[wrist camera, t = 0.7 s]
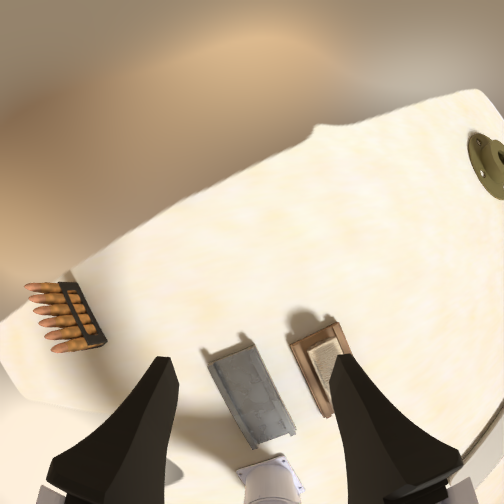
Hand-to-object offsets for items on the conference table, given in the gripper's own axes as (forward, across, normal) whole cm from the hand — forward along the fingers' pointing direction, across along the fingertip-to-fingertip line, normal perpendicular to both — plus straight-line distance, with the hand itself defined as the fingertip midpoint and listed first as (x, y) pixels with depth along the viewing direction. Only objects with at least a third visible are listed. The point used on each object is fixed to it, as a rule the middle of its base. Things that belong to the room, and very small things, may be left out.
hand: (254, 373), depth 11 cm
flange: (+34, -50, -8) cm, 61 cm away
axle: (+14, -10, +20) cm, 26 cm away
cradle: (+14, 0, +23) cm, 27 cm away
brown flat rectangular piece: (+15, -11, +20) cm, 27 cm away
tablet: (-2, -53, +42) cm, 67 cm away
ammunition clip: (+21, +25, +15) cm, 36 cm away
